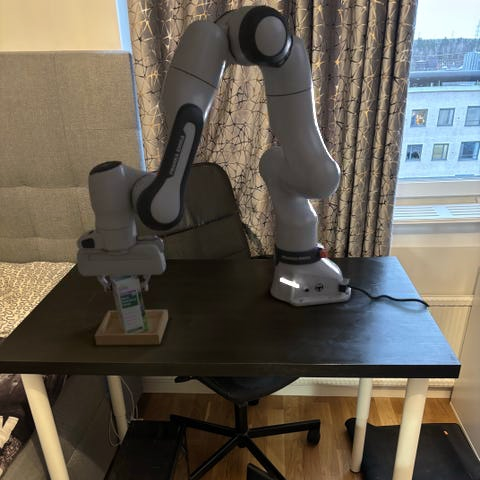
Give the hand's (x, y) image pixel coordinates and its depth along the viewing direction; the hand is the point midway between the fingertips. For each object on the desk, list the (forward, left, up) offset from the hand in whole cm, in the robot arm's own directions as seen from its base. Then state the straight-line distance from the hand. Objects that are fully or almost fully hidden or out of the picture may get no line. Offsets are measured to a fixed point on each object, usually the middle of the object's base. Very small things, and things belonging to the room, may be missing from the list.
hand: (126, 290), depth 120 cm
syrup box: (0, 0, -11) cm, 11 cm away
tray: (0, 0, -12) cm, 12 cm away
